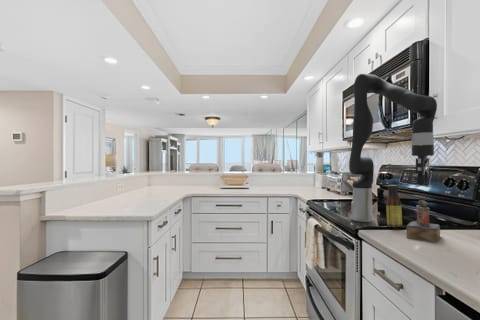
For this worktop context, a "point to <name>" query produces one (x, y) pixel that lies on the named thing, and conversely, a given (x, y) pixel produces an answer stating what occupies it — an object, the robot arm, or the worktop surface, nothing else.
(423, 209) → the lighter
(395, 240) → the worktop surface
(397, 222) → the sauce bottle
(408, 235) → the grey slab
